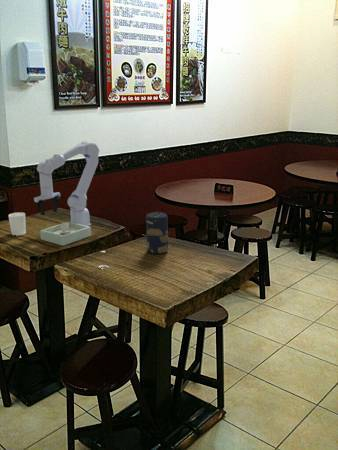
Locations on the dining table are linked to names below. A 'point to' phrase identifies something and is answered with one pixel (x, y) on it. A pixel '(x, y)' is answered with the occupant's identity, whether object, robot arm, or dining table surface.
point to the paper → (102, 265)
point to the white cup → (17, 223)
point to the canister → (157, 232)
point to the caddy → (74, 234)
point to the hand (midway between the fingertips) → (48, 213)
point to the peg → (65, 228)
